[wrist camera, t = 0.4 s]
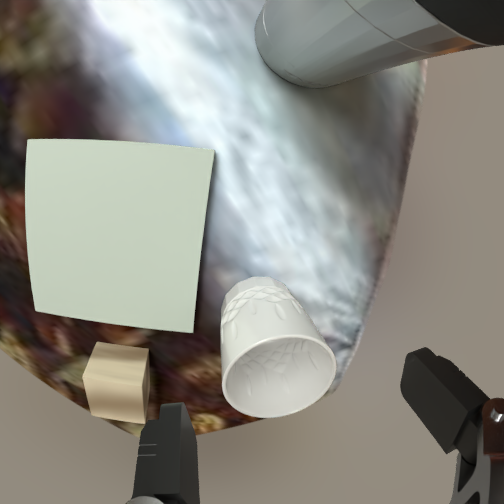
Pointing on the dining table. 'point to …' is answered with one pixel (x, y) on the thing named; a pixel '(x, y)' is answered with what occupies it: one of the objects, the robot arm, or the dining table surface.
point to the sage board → (116, 230)
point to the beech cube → (118, 382)
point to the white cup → (271, 351)
